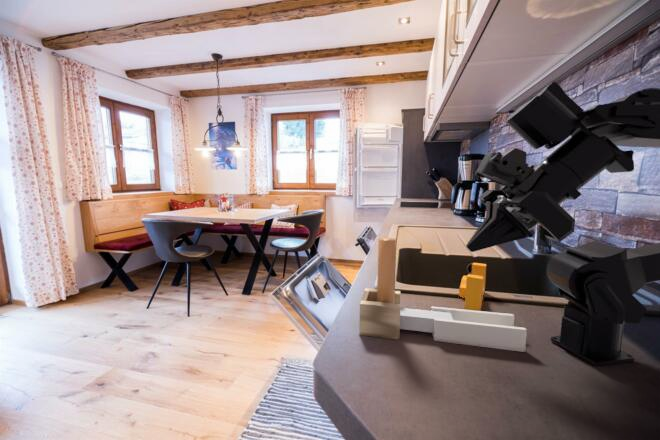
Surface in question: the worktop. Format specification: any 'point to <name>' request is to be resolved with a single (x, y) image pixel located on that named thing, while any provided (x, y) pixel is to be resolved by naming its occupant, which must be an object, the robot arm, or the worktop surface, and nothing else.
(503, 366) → the worktop surface
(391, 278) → the slide bolt
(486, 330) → the sleeve
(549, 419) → the worktop surface
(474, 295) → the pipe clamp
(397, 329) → the socket
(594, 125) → the robot arm
